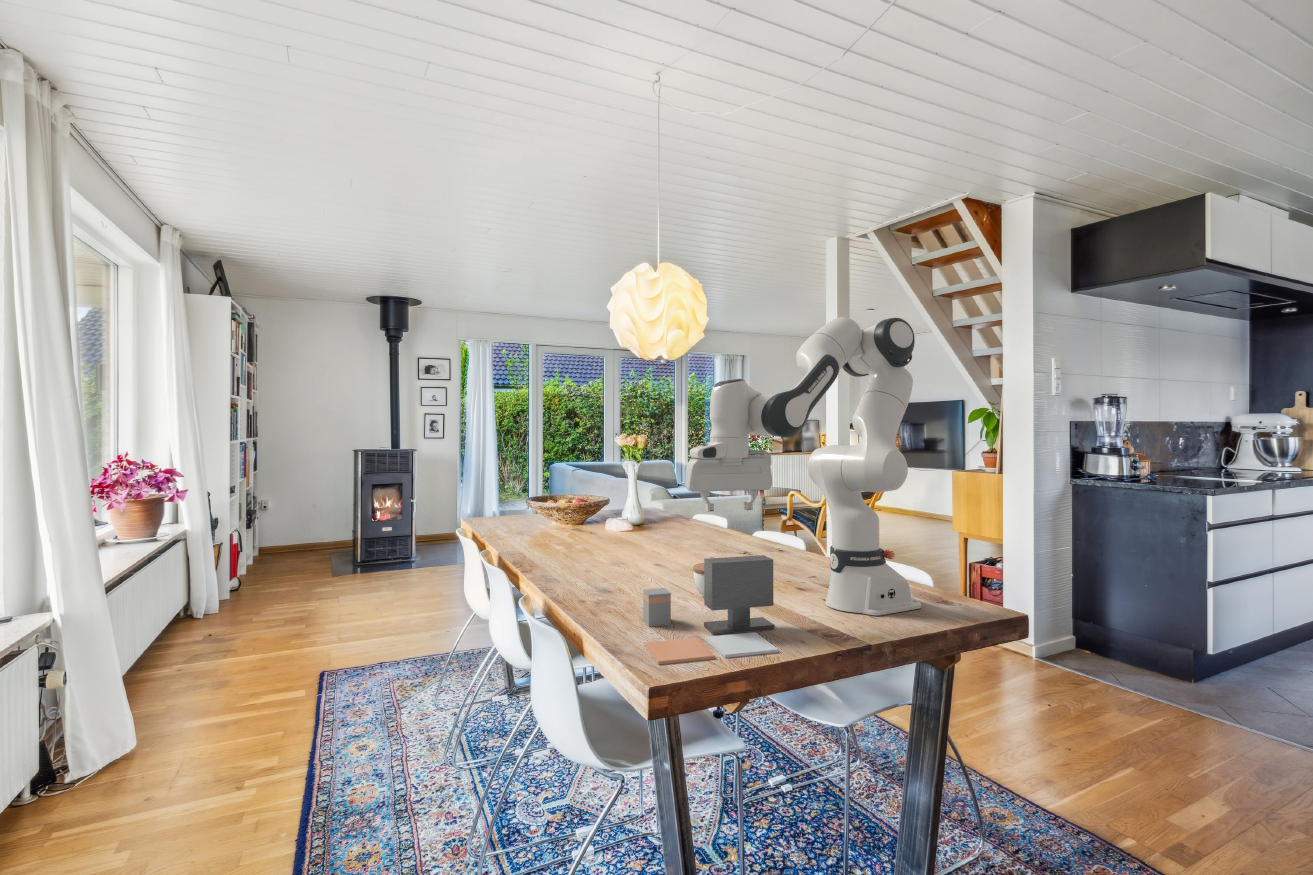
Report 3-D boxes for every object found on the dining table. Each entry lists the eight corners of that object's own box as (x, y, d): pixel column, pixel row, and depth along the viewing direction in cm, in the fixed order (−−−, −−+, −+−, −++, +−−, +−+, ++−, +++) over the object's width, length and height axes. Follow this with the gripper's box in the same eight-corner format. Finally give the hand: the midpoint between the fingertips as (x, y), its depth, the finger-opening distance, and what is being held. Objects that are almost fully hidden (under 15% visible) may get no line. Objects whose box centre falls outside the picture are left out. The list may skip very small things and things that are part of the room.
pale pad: (755, 635, 137) (755, 632, 137) (778, 652, 127) (778, 649, 127) (705, 639, 135) (705, 636, 135) (724, 657, 124) (724, 654, 124)
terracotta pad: (696, 640, 134) (696, 637, 134) (714, 658, 124) (714, 655, 124) (644, 645, 131) (644, 642, 131) (658, 664, 121) (658, 661, 121)
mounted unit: (763, 621, 147) (762, 554, 147) (774, 629, 141) (774, 559, 141) (703, 626, 144) (703, 558, 143) (713, 634, 138) (712, 563, 137)
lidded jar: (685, 597, 168) (685, 561, 168) (706, 589, 177) (705, 554, 177) (722, 603, 162) (722, 565, 162) (741, 594, 171) (741, 558, 171)
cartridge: (664, 618, 150) (664, 587, 150) (670, 624, 145) (670, 593, 145) (643, 620, 149) (643, 589, 149) (648, 626, 144) (648, 594, 144)
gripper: (765, 449, 156) (765, 507, 156) (683, 450, 150) (683, 510, 151) (777, 450, 149) (777, 510, 150) (691, 450, 144) (691, 513, 144)
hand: (729, 510), depth 150 cm, fingers open, 8 cm apart
